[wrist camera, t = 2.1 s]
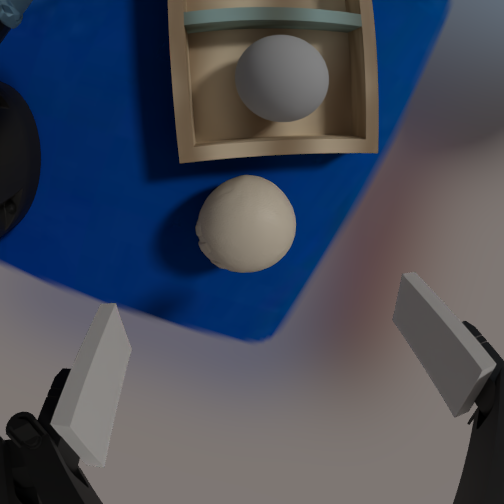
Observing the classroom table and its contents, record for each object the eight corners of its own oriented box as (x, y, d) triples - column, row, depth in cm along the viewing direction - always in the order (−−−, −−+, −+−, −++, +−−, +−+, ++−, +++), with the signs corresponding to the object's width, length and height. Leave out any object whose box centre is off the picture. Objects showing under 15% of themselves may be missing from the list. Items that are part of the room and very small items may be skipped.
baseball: (180, 205, 25) (168, 239, 19) (254, 151, 24) (266, 168, 18) (229, 264, 28) (233, 309, 22) (300, 216, 27) (323, 252, 21)
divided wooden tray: (185, 155, 24) (179, 163, 20) (173, -67, 15) (167, -86, 12) (358, 145, 24) (377, 153, 21) (342, -64, 15) (357, -80, 12)
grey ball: (235, 122, 22) (240, 128, 17) (230, 44, 19) (234, 26, 14) (315, 119, 22) (344, 125, 17) (311, 44, 20) (339, 29, 14)
